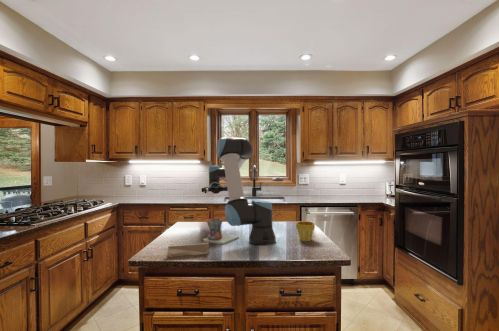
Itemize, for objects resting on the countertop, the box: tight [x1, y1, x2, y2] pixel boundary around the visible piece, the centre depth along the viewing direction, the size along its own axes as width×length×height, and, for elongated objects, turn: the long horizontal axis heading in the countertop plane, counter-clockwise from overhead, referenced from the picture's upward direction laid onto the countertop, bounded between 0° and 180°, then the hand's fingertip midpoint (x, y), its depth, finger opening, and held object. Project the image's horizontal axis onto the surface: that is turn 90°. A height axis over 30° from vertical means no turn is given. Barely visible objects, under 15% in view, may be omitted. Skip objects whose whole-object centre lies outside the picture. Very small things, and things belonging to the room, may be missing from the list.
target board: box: [202, 233, 240, 246], centre depth 162 cm, size 15×15×1 cm
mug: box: [206, 218, 224, 239], centre depth 163 cm, size 12×9×11 cm
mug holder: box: [167, 241, 210, 258], centre depth 144 cm, size 18×19×5 cm
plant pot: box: [295, 220, 315, 242], centre depth 159 cm, size 10×10×10 cm
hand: (218, 190), depth 171 cm, fingers open, 13 cm apart
